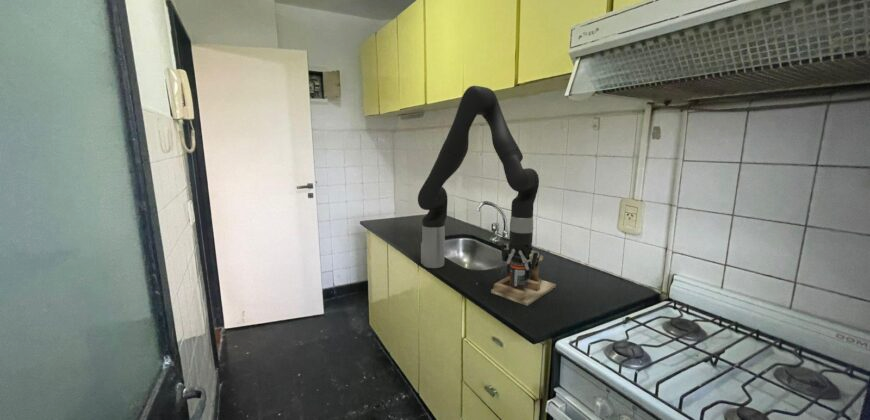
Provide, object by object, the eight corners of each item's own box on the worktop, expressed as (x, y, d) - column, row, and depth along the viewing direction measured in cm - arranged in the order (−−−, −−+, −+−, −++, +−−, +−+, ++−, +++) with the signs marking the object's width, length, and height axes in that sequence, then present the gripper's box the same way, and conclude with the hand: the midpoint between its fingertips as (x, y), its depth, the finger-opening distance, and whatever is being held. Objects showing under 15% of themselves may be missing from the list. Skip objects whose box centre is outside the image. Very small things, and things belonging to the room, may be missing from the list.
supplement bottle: (508, 282, 124) (509, 252, 122) (525, 282, 124) (526, 252, 122) (510, 289, 119) (512, 257, 116) (528, 290, 118) (530, 258, 116)
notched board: (490, 292, 122) (491, 283, 122) (521, 276, 136) (521, 267, 136) (526, 306, 113) (527, 295, 112) (555, 286, 127) (556, 277, 126)
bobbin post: (521, 282, 128) (522, 256, 126) (529, 277, 133) (531, 252, 131) (536, 287, 124) (537, 260, 122) (544, 282, 129) (546, 255, 126)
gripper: (496, 227, 119) (494, 274, 123) (535, 235, 109) (532, 286, 113) (508, 223, 124) (506, 268, 128) (546, 231, 115) (543, 279, 118)
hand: (518, 276), depth 120 cm, fingers closed on supplement bottle, 6 cm apart
